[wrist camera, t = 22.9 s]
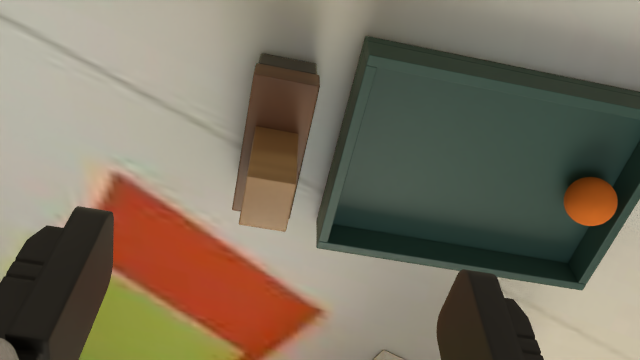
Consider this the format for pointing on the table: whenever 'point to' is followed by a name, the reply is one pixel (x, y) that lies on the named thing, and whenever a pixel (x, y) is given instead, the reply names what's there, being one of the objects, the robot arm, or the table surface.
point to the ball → (590, 201)
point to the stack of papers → (387, 356)
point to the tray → (476, 165)
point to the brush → (275, 140)
